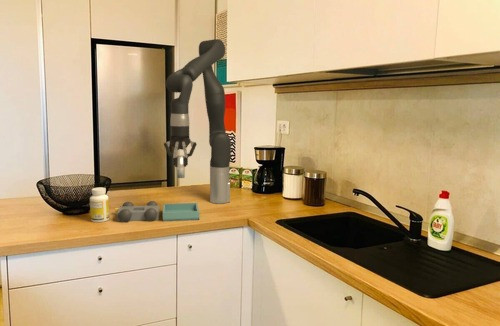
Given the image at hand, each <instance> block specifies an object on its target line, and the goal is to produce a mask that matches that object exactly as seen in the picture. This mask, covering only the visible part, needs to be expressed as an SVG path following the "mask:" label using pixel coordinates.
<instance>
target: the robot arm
mask: <svg viewBox="0 0 500 326" xmlns="http://www.w3.org/2000/svg"><path fill="white" fill-rule="evenodd" d="M225 55H226V46H225V43H224V42H223V41H222V40H221V39H218V38H217V39H216V38H214V39H208V40H207V39H206V40H202V41H200V43H199V44H198V56H197V57H194V58H193V59H191V60H190V61H188V63H187V64H186V65H184V66H183V67H182V68H180V69H178V70H177V71H174V72H173V73H171V74H170V75H169V76H167V79H166V83H165V86H166V89H167V90H168V91H169V92H170V93H175V94H176V93H179V96H178V97H177V98H173V99H171V102H170V121H169V123H170V139H169V141H167V142H163V145H164V148H165V151H166V153H167V155H168V157H171V158H172V162H173V166H174V167H175V168H177V156H178V155H177V154H178V150H183V156H184V167H187V166H188V164H189V158H190V157H192V156H193V154H194V151H195V149H196V147H197V142H196V141H195V142H194V141H192V140H191V137H190V115H189V113H190V111H189V103H190V99H191V94H192V91H193V86H194V84H193V83H194V82H195V81H196V80H197V79H198V78H199V77H200V76H201V75H202V77H203V78H202V79H203V86H204V87H203V89H204V98H205V99H204V100H205V101H204V102H205V106H206V107H205V108H206V115H207V119H208V126H209V127H208V128H209V130H208V142H209V143H208V144H209V146H210V151H211V152H210V153H211V154H210V161H209V202H210V203H212V204H227V203H231V182H230V164H231V163H230V162H231V159H232V158H231V155H232V154H231V153H232V141H231V138H230V137H229V135H228V134H227V132H226V127H225V113H226V94H225V88H224V87H223V85H222V83H221V81H220V79H218V77H217V76H216V73H215V71H214V69H213V65H214V64H216V63H217V62H218V61H221V60H222V59H223V58H224V56H225ZM170 145H171V146H172V147H173V153H172V152H171V150H170ZM189 145H190V147H191V148H190V150H189V152H187V148H188V147H189Z"/></svg>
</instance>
